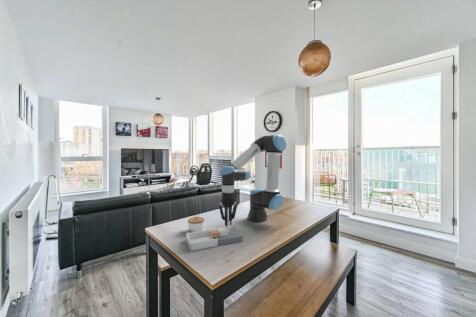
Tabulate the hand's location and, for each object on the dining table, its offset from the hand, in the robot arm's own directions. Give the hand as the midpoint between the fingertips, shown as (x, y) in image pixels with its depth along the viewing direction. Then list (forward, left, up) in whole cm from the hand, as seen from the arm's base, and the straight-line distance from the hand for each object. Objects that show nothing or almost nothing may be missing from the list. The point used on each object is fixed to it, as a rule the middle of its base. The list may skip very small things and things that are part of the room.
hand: (228, 230), depth 120 cm
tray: (+16, 0, -5) cm, 17 cm away
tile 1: (+8, 0, -2) cm, 8 cm away
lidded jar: (+15, -19, -5) cm, 25 cm away
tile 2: (+3, 0, -2) cm, 4 cm away
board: (+1, 0, -5) cm, 5 cm away
